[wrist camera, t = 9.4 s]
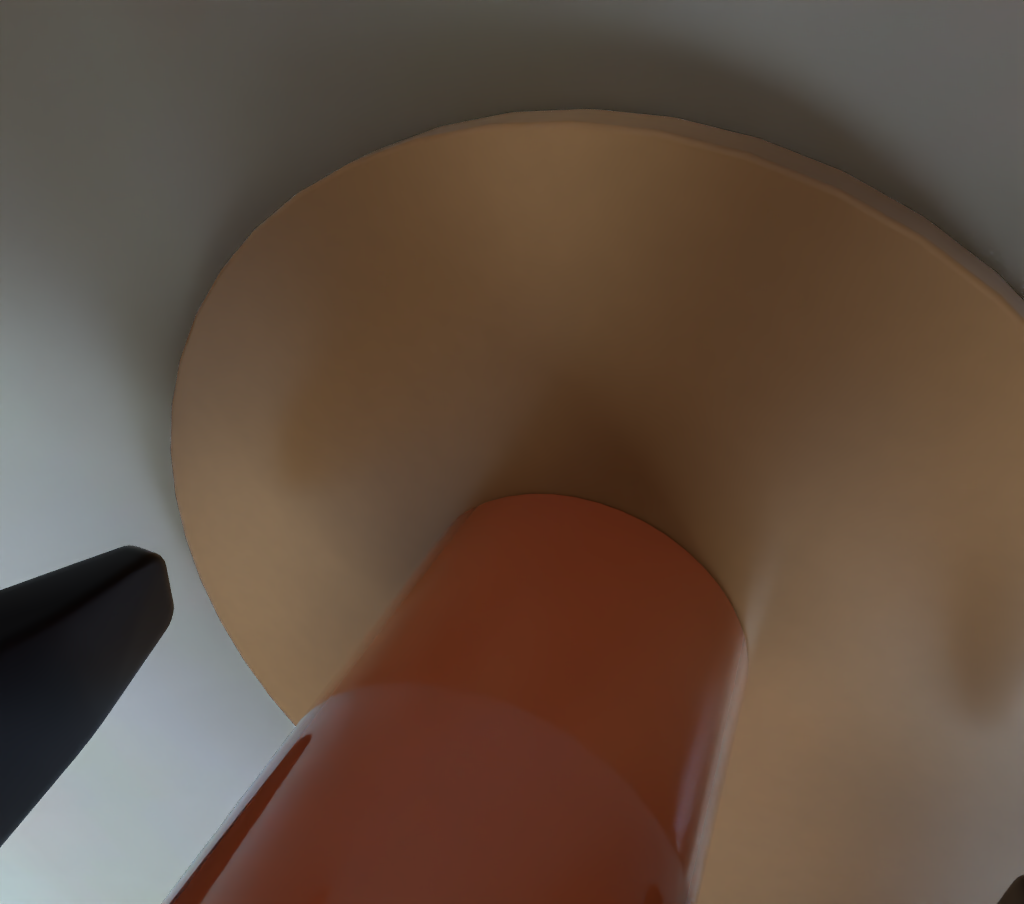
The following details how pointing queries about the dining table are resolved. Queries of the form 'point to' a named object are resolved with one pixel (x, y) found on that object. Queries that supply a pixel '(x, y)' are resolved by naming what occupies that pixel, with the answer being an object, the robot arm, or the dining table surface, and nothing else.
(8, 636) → the robot arm
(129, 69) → the dining table surface
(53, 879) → the dining table surface
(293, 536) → the cork trivet
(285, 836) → the terracotta shaker
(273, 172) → the dining table surface
